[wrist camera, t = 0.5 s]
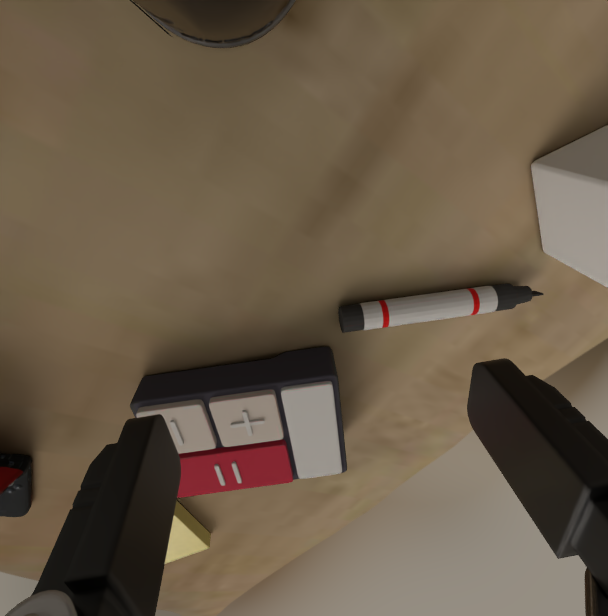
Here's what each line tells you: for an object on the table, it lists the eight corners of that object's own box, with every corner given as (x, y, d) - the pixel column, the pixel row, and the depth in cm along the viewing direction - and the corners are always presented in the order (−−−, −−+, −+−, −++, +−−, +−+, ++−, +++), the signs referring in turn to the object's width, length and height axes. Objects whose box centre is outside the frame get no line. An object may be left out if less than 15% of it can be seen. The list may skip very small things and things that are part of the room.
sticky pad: (104, 521, 37) (98, 536, 36) (172, 495, 37) (169, 510, 35) (148, 556, 41) (144, 571, 40) (211, 533, 41) (209, 548, 39)
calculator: (123, 411, 26) (339, 381, 26) (142, 371, 30) (331, 344, 30) (171, 505, 32) (349, 481, 32) (182, 461, 35) (341, 439, 35)
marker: (338, 323, 29) (344, 338, 27) (337, 301, 28) (343, 315, 26) (529, 296, 30) (546, 309, 28) (535, 274, 29) (553, 286, 27)
